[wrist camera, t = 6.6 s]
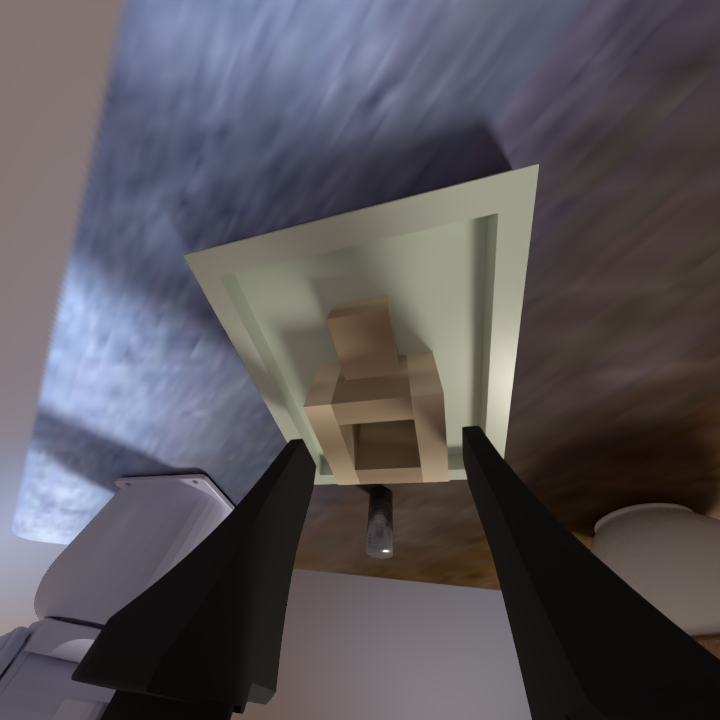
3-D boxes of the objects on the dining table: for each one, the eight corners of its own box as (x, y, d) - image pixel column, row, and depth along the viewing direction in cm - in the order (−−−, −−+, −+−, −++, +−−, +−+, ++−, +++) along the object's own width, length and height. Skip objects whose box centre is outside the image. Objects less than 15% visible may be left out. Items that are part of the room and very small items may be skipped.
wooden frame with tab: (438, 432, 15) (448, 481, 12) (346, 438, 16) (338, 484, 13) (427, 288, 10) (439, 318, 8) (299, 311, 11) (274, 344, 9)
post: (372, 500, 21) (368, 558, 18) (367, 487, 20) (363, 546, 17) (393, 499, 21) (394, 558, 17) (390, 487, 20) (390, 546, 16)
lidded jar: (537, 545, 22) (617, 733, 15) (607, 474, 16) (804, 727, 9) (667, 561, 22) (824, 768, 14) (788, 493, 16) (1180, 787, 8)
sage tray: (317, 461, 19) (310, 484, 17) (211, 247, 11) (183, 255, 9) (491, 452, 16) (501, 478, 15) (512, 169, 9) (539, 163, 7)
